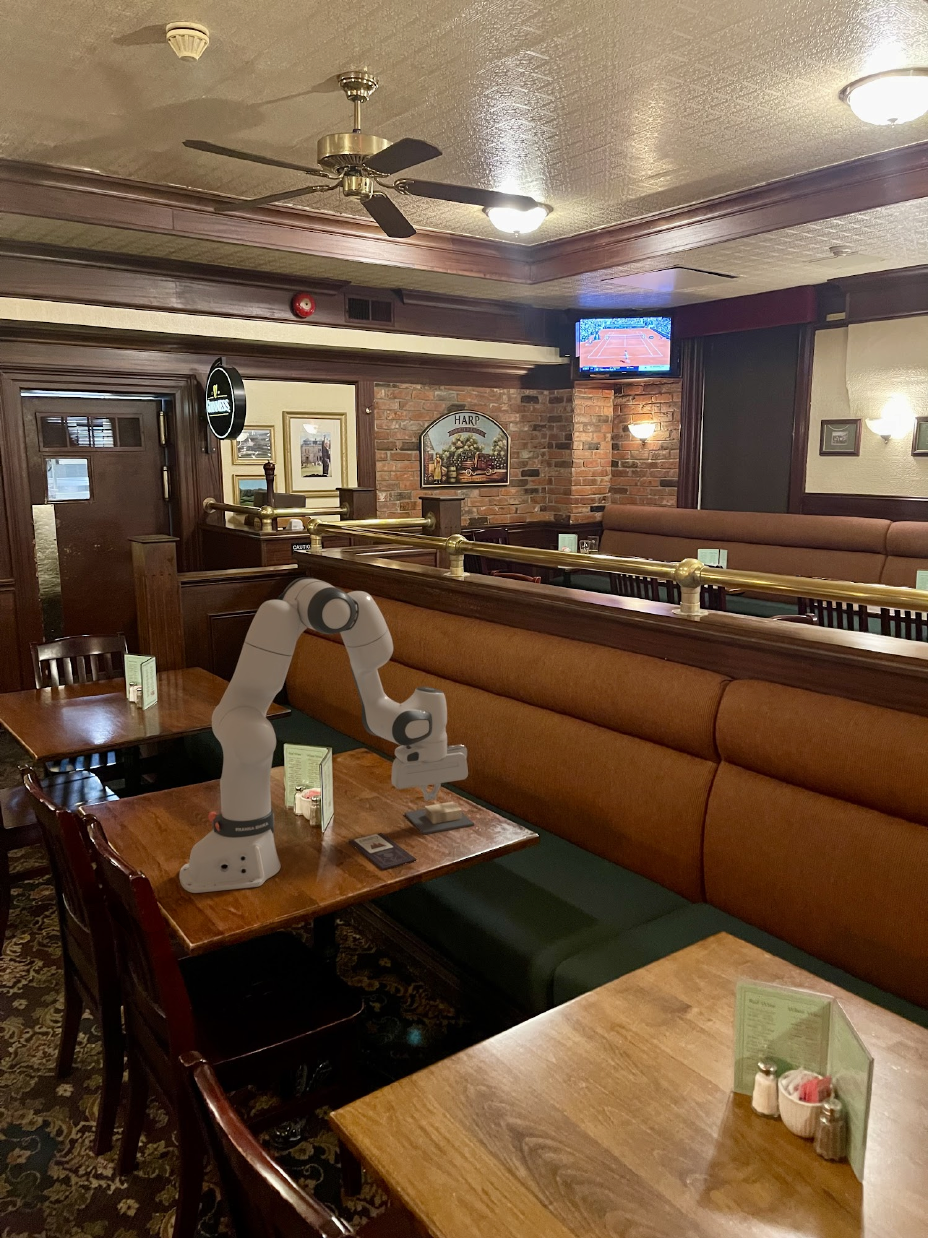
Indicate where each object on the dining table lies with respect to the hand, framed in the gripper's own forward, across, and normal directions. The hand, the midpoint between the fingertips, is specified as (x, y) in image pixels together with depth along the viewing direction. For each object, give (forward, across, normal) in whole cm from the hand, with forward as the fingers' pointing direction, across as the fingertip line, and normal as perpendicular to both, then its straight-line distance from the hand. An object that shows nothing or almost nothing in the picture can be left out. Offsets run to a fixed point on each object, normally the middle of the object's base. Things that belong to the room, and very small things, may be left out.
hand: (430, 799), depth 237 cm
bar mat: (+6, -2, 0) cm, 6 cm away
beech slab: (+4, 0, 0) cm, 4 cm away
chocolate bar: (+7, +17, +12) cm, 22 cm away
